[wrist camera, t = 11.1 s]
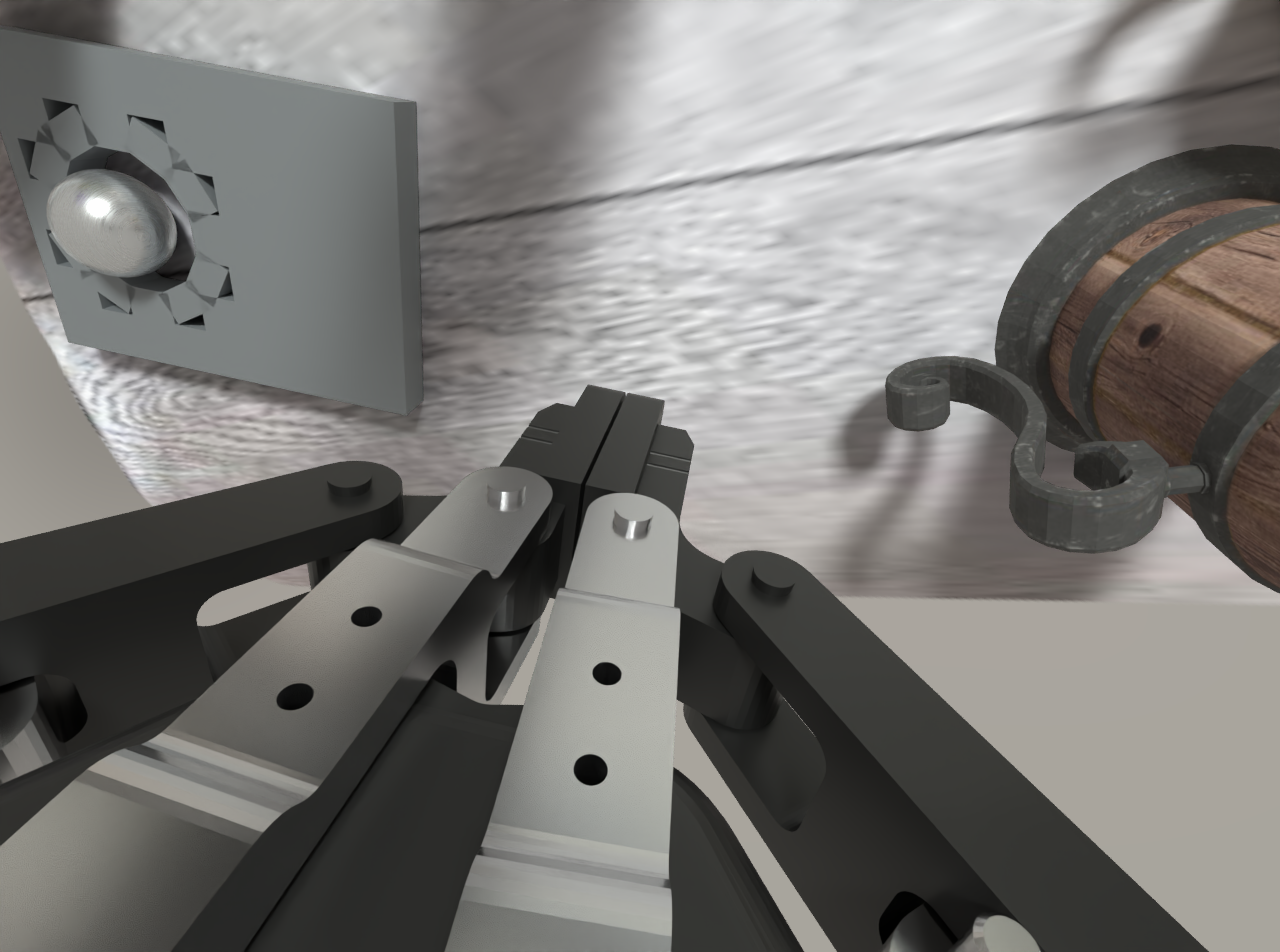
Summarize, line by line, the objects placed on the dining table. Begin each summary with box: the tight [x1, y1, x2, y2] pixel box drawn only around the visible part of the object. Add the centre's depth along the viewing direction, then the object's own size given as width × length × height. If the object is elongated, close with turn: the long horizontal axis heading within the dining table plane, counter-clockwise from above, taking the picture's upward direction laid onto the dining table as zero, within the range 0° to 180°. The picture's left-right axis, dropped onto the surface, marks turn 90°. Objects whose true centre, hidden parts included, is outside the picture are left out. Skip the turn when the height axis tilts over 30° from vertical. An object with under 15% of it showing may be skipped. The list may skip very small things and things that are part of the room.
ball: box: [46, 169, 177, 278], centre depth 38 cm, size 6×6×6 cm
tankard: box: [885, 145, 1280, 593], centre depth 27 cm, size 24×17×20 cm
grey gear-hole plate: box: [0, 25, 423, 416], centre depth 39 cm, size 18×24×2 cm
